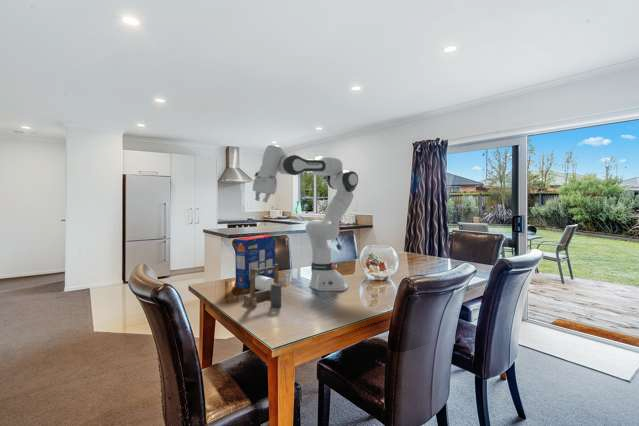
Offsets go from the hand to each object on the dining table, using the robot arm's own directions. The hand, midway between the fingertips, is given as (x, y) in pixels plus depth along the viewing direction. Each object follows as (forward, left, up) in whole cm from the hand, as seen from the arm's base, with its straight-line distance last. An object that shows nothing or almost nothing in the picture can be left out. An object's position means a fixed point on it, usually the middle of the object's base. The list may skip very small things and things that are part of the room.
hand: (260, 201), depth 164 cm
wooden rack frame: (-3, +7, -50) cm, 51 cm away
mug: (+1, -12, -50) cm, 52 cm away
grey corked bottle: (-12, +13, -50) cm, 53 cm away
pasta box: (+12, -26, -50) cm, 58 cm away
